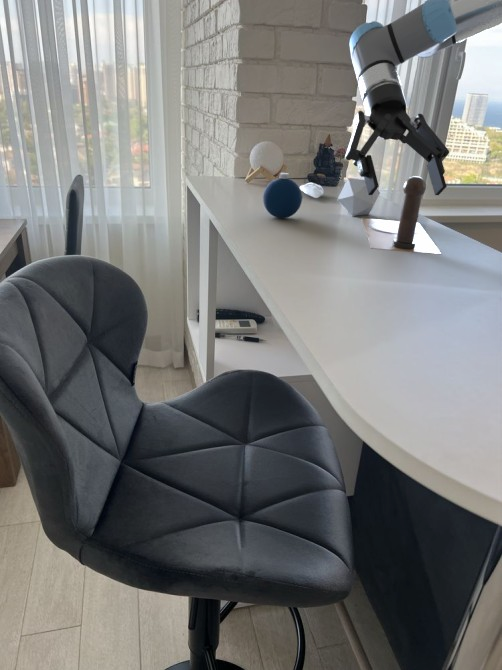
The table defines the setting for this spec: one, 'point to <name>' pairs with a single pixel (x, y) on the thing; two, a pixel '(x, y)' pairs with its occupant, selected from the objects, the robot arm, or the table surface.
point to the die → (357, 197)
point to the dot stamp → (409, 212)
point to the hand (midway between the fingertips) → (407, 191)
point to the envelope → (386, 232)
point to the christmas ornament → (282, 197)
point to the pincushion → (312, 189)
